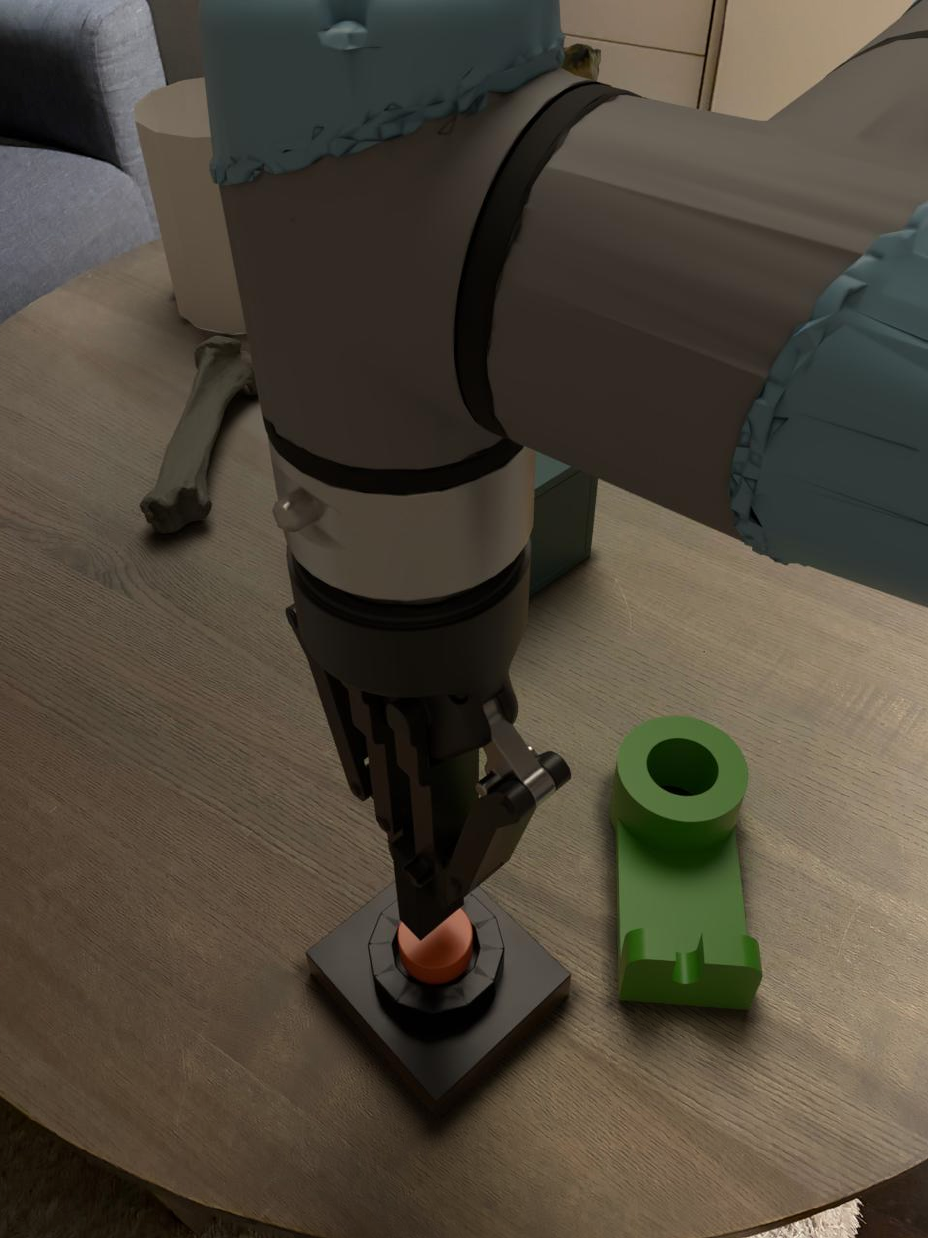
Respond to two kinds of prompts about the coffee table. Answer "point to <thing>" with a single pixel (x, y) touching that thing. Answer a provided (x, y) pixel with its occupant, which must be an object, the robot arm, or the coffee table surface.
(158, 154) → the container
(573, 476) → the tin
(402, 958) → the button
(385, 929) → the control block
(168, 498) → the bone
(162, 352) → the coffee table surface
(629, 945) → the green ring bracket
